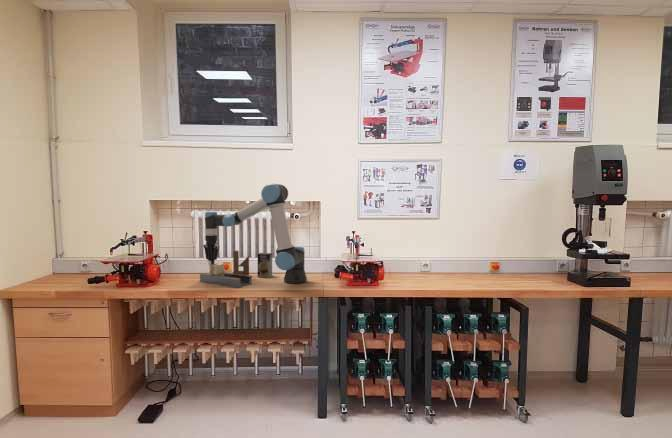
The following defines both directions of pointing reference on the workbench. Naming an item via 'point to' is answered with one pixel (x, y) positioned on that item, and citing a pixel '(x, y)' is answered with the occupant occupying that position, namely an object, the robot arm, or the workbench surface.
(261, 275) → the coffee box
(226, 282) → the steel chute
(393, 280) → the workbench surface
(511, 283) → the workbench surface
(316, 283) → the workbench surface
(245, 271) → the dark angular piece
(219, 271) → the maple block
